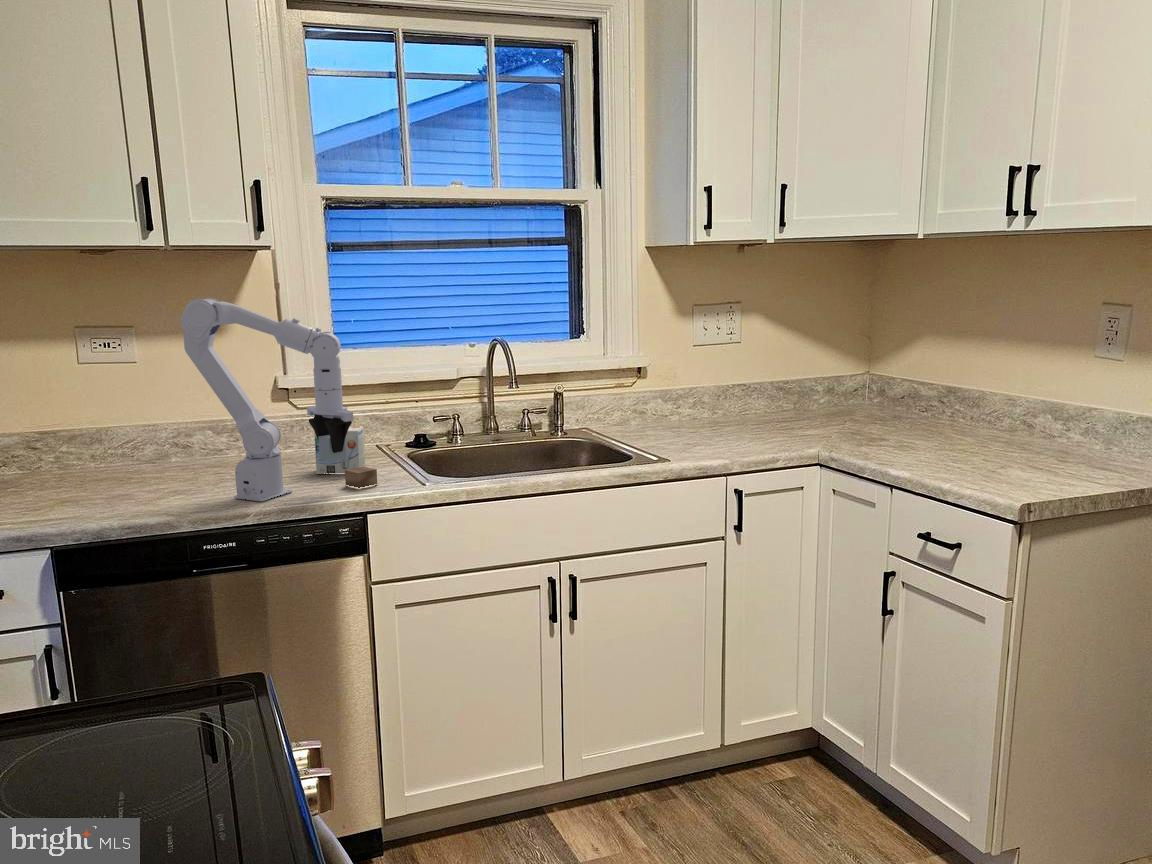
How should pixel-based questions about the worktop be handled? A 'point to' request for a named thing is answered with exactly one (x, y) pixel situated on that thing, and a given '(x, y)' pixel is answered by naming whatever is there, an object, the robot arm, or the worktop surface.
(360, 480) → the walnut block
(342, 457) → the slate block
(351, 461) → the light bulb box
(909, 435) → the worktop surface
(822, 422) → the worktop surface
